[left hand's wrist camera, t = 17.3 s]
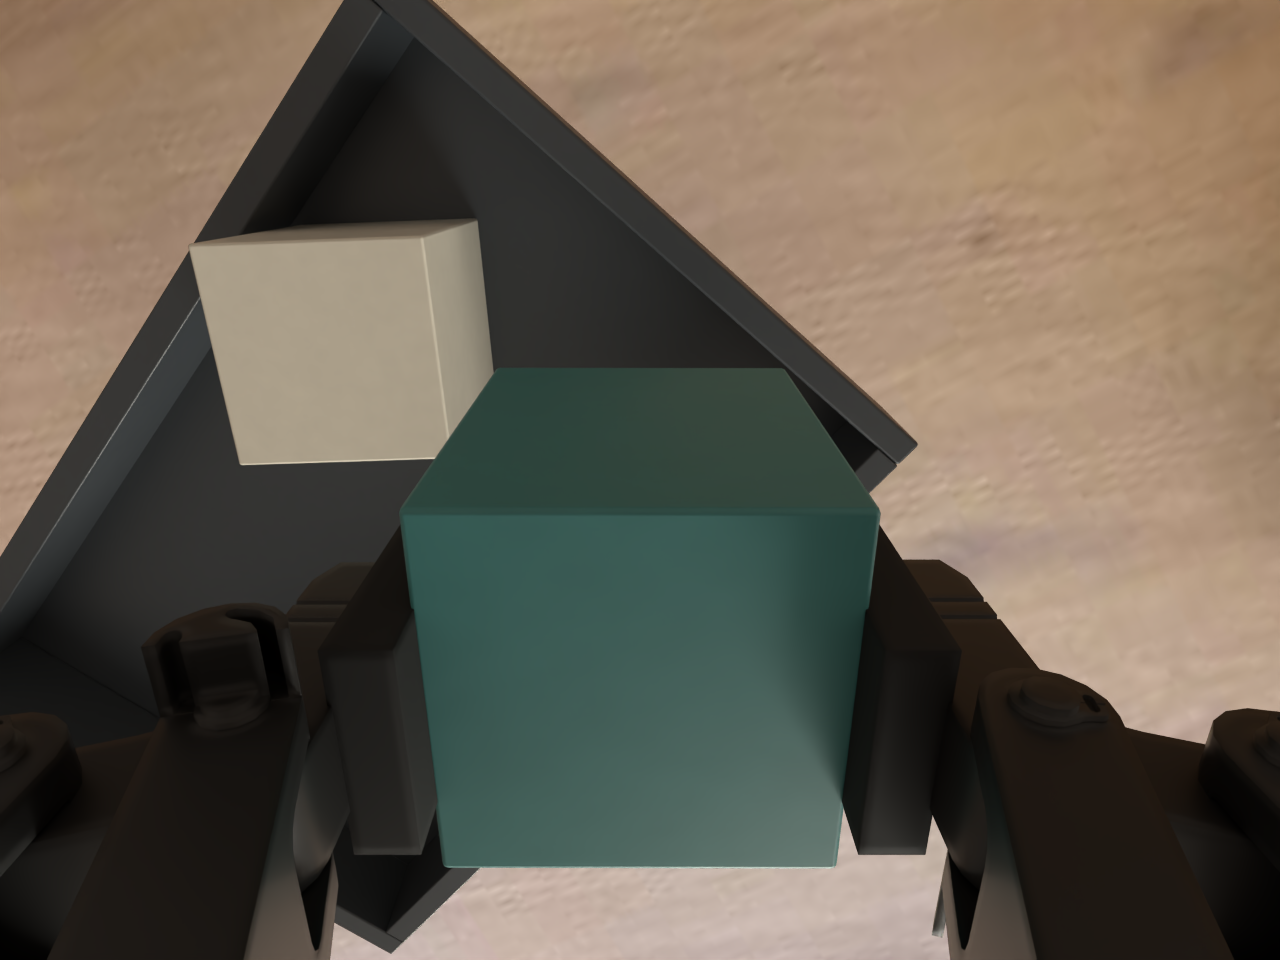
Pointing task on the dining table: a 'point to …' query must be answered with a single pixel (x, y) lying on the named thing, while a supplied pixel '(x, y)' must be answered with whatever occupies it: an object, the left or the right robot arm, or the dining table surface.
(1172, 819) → the left robot arm
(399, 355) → the beige block
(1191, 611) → the dining table surface
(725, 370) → the teal block
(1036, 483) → the dining table surface
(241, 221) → the tray
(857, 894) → the dining table surface
